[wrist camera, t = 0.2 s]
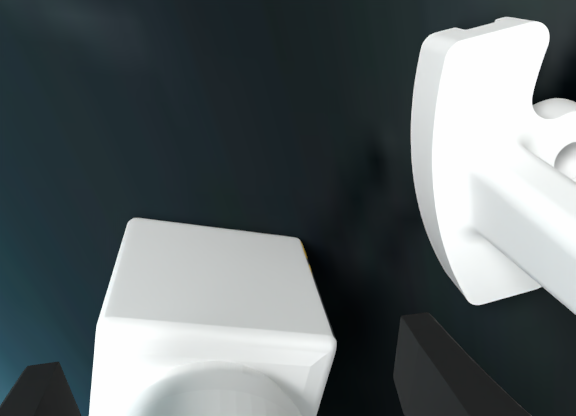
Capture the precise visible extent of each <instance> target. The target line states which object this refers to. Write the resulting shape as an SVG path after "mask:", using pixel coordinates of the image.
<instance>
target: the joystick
mask: <svg viewBox="0 0 576 416" xmlns="http://www.w3.org/2000/svg"><path fill="white" fill-rule="evenodd" d="M548 44H549V31H548V29H547V27H546V26H545V25H544V24H542V23H540V22H536V21H530V20H524V19H518V18H512V17H503V18H499V19H496V20H495V23H491V24H487V25H483V26H479V27H476V28H472V29H468V30H463V29H459V28H451V29H447V30H444V31H440V32H436V33H433V34H431V35H430V36H428V37H427V38H426V39H425V41H424V42H423V44H422V46H421V50H420V55H419V60H418V65H417V71H416V77H415V84H414V92H413V101H412V114H411V157H412V169H413V178H414V185H415V191H416V196H417V201H418V205H419V209H420V213H421V217H422V220H423V223H424V226H425V229H426V232H427V235H428V238H429V240H430V243H431V245H432V247H433V249H434V252H435V254H436V256H437V258H438V260H439V261H440V263H441V265H442V267H443V269H444V270H445V272H446V273H447V275H448V276H449V277H450V279H451V280H452V281H453V282H454V284H455V285H456V286H457V287H458V289H459V290H460V291H461V293H462V294H463V295H464V296H465V298H466V299H467V300H468V301H469V302H470V303H471V304H473V305H482V304H486V303H489V302H493V301H496V300H500V299H503V298H507V297H510V296H514V295H518V294H521V293H525V292H528V291H532V290H535V289H538V288H540V287H543V288H544V289H545V290H547V291H548V292H549V293H550V294H551V295H553V296H554V297H555V298H556V299H557V300H558V301H560V302H561V303H562V304H563V305H564V306H566V307H567V308H568V309H569V310H570V311H571V312H573V313H574V314H575V315H576V102H574V101H571V100H568V99H562V98H554V99H548V100H544V101H541V102H538V103H536V104H534V105H532V96H533V91H534V88H535V84H536V80H537V77H538V73H539V70H540V67H541V64H542V61H543V58H544V55H545V52H546V50H547V47H548Z"/></svg>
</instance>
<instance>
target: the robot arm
mask: <svg viewBox="0 0 576 416" xmlns="http://www.w3.org/2000/svg"><path fill="white" fill-rule="evenodd" d="M393 379H394V382H395V386H396V389H397V393H398V396H399V400H400V403H401V406H402V410H403V413H404V416H532V415H530V414H529V413H528V412H527V411H526V410H525V409H524V408H523V407H522V406H521V405H519V404H518V403H517V402H516V401H515V400H514V399H513V398H512V397H511V396H510V395H509V394H508V393H507V392H506V391H505V390H504V389H503V388H501V387H500V386H499V385H498V384H497V383H496V382H495V381H494V380H493V379H492V378H491V377H490V376H489V375H488V374H487V373H486V372H485V371H484V370H483V369H482V368H481V367H480V366H479V365H478V364H477V363H476V362H475V361H474V360H473V359H472V358H471V357H470V356H469V355H468V354H467V353H466V352H465V351H464V350H463V348H462V347H461V346H460V345H459V344H458V343H457V342H456V341H455V340H454V339H453V338H452V337H451V336H450V335H449V334H448V333H447V331H446V330H445V329H444V328H443V327H442V326H441V325H440V324H439V323H438V322H437V321H436V320H435V318H434V317H433V316H432V315H431V314H429V313H428V312H426V313H419V314H411V315H404V316H401V319H400V326H399V334H398V342H397V350H396V357H395V365H394V373H393ZM0 416H81V414H80V411H79V409H78V406H77V404H76V402H75V399H74V397H73V394H72V392H71V390H70V387H69V385H68V382H67V380H66V378H65V375H64V373H63V370H62V368H61V366H60V363H59V362H53V363H46V364H39V365H31V366H27V367H26V369H25V370H24V371H23V372H22V374H21V375H20V377H19V378H18V380H17V381H16V383H15V384H14V386H13V387H12V389H11V390H10V392H9V393H8V395H7V396H6V398H5V399H4V401H3V402H2V404H1V405H0Z"/></svg>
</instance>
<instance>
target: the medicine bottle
mask: <svg viewBox="0 0 576 416" xmlns="http://www.w3.org/2000/svg"><path fill="white" fill-rule="evenodd" d="M336 347H337V341H336V338H335V335H334V332H333V329H332V326H331V324H330V321H329V318H328V315H327V312H326V309H325V307H324V304H323V301H322V298H321V295H320V292H319V289H318V287H317V284H316V281H315V278H314V275H313V272H312V270H311V267H310V264H309V261H308V258H307V255H306V252H305V250H304V247H303V244H302V242H301V241H300V240H299V239H298V238H296V237H290V236H282V235H274V234H266V233H258V232H250V231H242V230H234V229H226V228H218V227H210V226H202V225H194V224H186V223H178V222H170V221H162V220H154V219H146V218H133V219H131V220H130V221H129V222H128V224H127V227H126V230H125V233H124V236H123V240H122V243H121V246H120V250H119V253H118V256H117V260H116V263H115V266H114V270H113V273H112V276H111V280H110V283H109V286H108V290H107V293H106V296H105V300H104V303H103V306H102V310H101V313H100V316H99V319H98V323H97V326H96V338H95V349H94V361H93V373H92V385H91V397H90V409H89V416H316V415H317V412H318V408H319V405H320V402H321V399H322V395H323V392H324V389H325V385H326V382H327V379H328V375H329V372H330V369H331V366H332V362H333V359H334V356H335V352H336Z"/></svg>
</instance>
